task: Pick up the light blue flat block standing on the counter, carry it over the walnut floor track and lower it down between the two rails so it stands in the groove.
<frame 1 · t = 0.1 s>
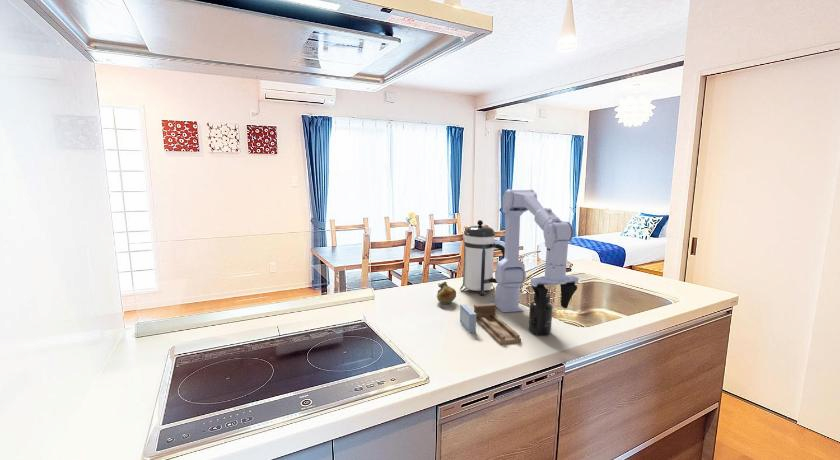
hand: (552, 308, 113), 10 cm above the worktop, fingers open, 7 cm apart
onion: (445, 303, 146), on the worktop
light blue flat block: (467, 327, 124), on the worktop
supplement bottle: (539, 332, 121), on the worktop
door track: (495, 329, 122), on the worktop
coffee press: (480, 291, 162), on the worktop
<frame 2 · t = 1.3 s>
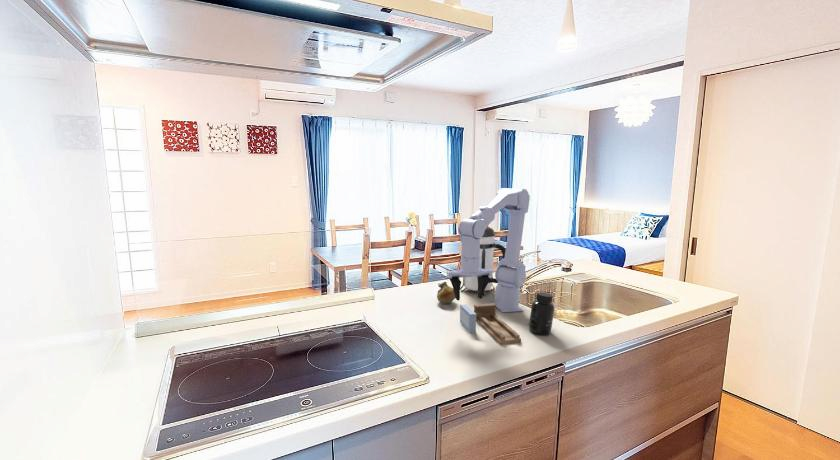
hand: (468, 298, 123), 9 cm above the worktop, fingers open, 7 cm apart
nothing on the worktop moved.
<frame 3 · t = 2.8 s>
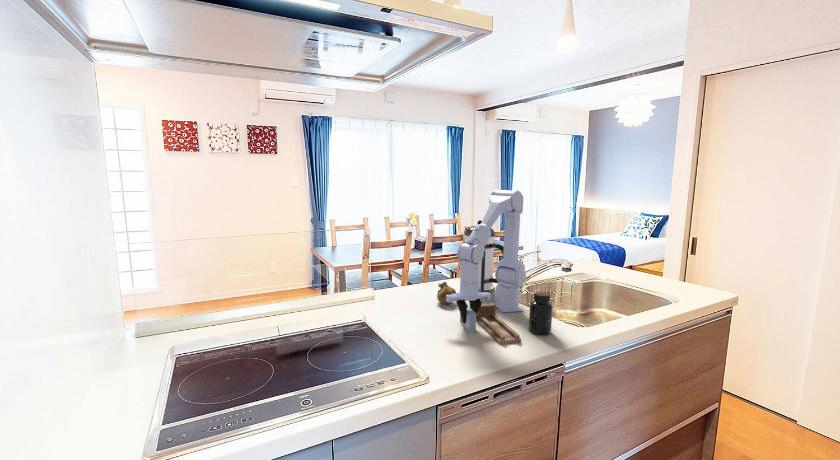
hand: (467, 321, 124), 2 cm above the worktop, fingers closed on light blue flat block, 2 cm apart
light blue flat block: (467, 326, 124), on the worktop, touching gripper
everything else where it was.
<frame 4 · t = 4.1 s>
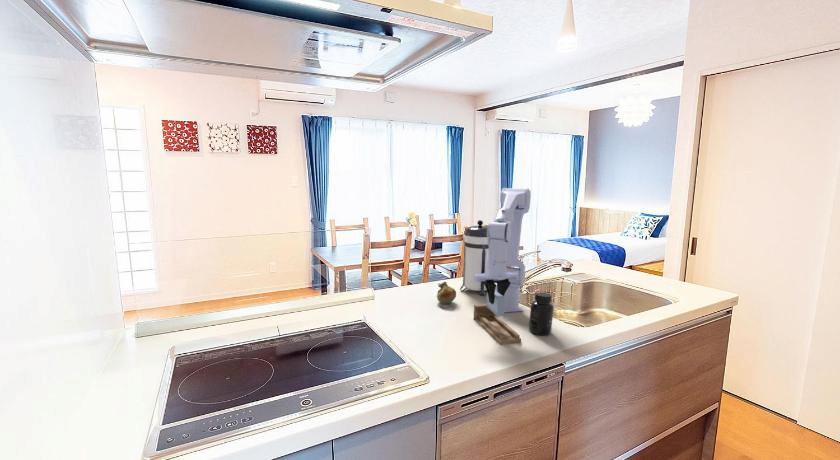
hand: (495, 302, 121), 9 cm above the worktop, fingers closed on light blue flat block, 2 cm apart
light blue flat block: (495, 311, 121), point 6 cm above the worktop, touching gripper
everything else where it was.
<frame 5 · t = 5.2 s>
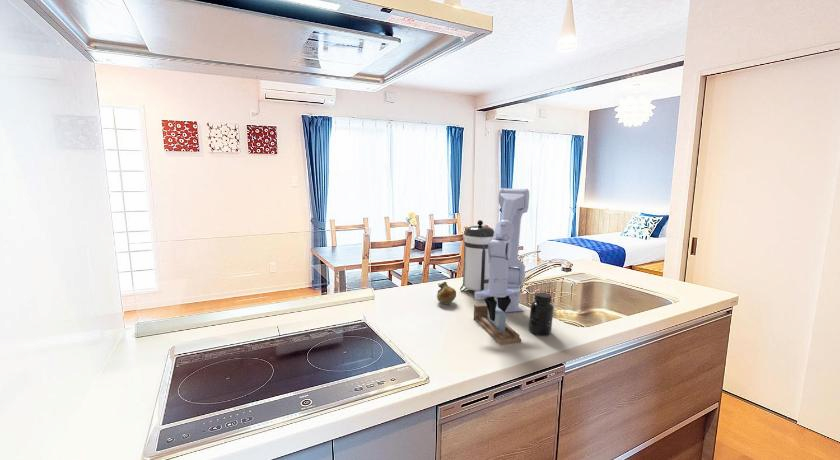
hand: (496, 319, 122), 3 cm above the worktop, fingers closed on light blue flat block, 2 cm apart
light blue flat block: (495, 326, 122), point 1 cm above the worktop, touching door track, gripper
everything else where it was.
when the fingers open (3 cm above the worktop, at t = 5.5 s): light blue flat block stays where it is, resting on door track.
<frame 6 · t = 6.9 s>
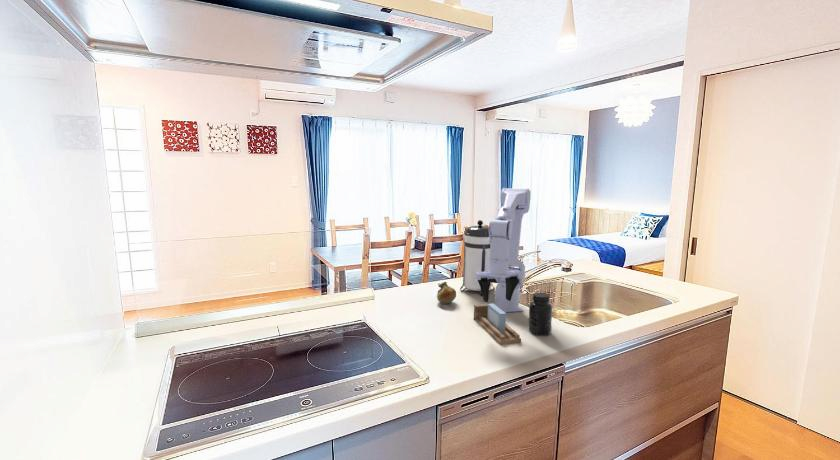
hand: (497, 300, 121), 10 cm above the worktop, fingers open, 7 cm apart
light blue flat block: (495, 326, 122), point 1 cm above the worktop, touching door track
everything else where it was.
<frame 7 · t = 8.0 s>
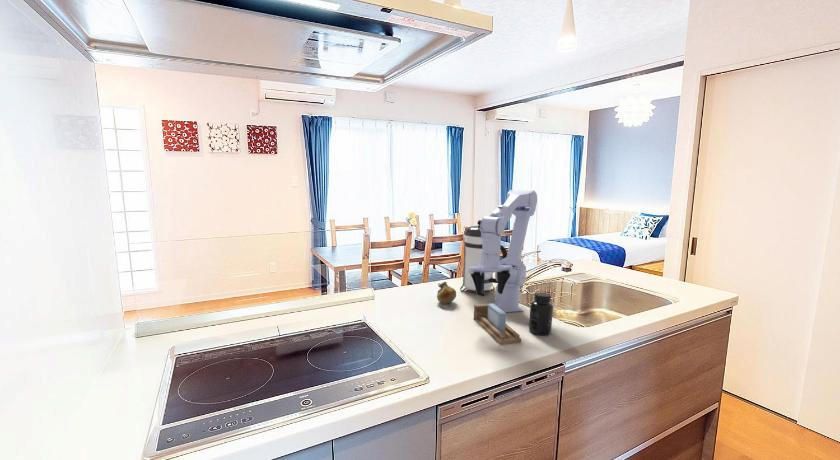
hand: (489, 293, 126), 10 cm above the worktop, fingers open, 7 cm apart
nothing on the worktop moved.
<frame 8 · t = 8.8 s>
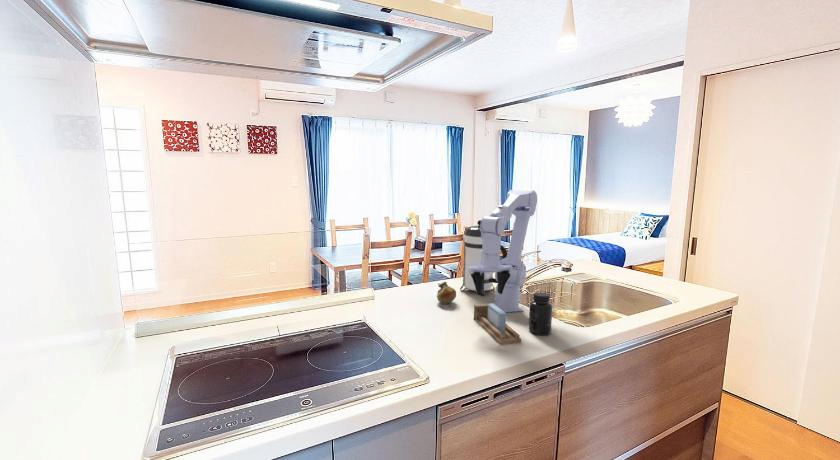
hand: (489, 293, 126), 10 cm above the worktop, fingers open, 7 cm apart
at the end: light blue flat block inside the target area on the door track (0.4 cm from its centre), point 1.0 cm above the door track's base; light blue flat block tilted 0°; the gripper is holding nothing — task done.
